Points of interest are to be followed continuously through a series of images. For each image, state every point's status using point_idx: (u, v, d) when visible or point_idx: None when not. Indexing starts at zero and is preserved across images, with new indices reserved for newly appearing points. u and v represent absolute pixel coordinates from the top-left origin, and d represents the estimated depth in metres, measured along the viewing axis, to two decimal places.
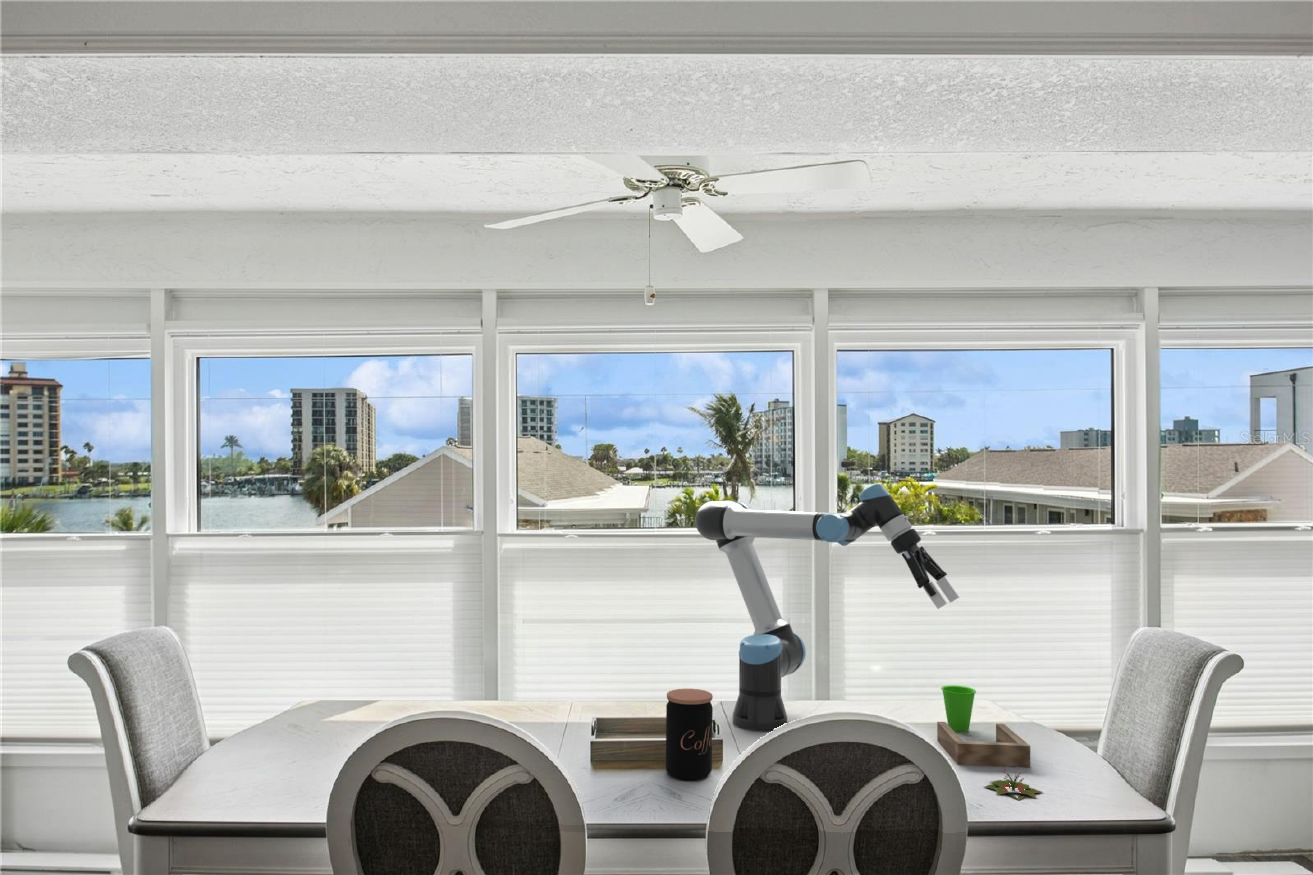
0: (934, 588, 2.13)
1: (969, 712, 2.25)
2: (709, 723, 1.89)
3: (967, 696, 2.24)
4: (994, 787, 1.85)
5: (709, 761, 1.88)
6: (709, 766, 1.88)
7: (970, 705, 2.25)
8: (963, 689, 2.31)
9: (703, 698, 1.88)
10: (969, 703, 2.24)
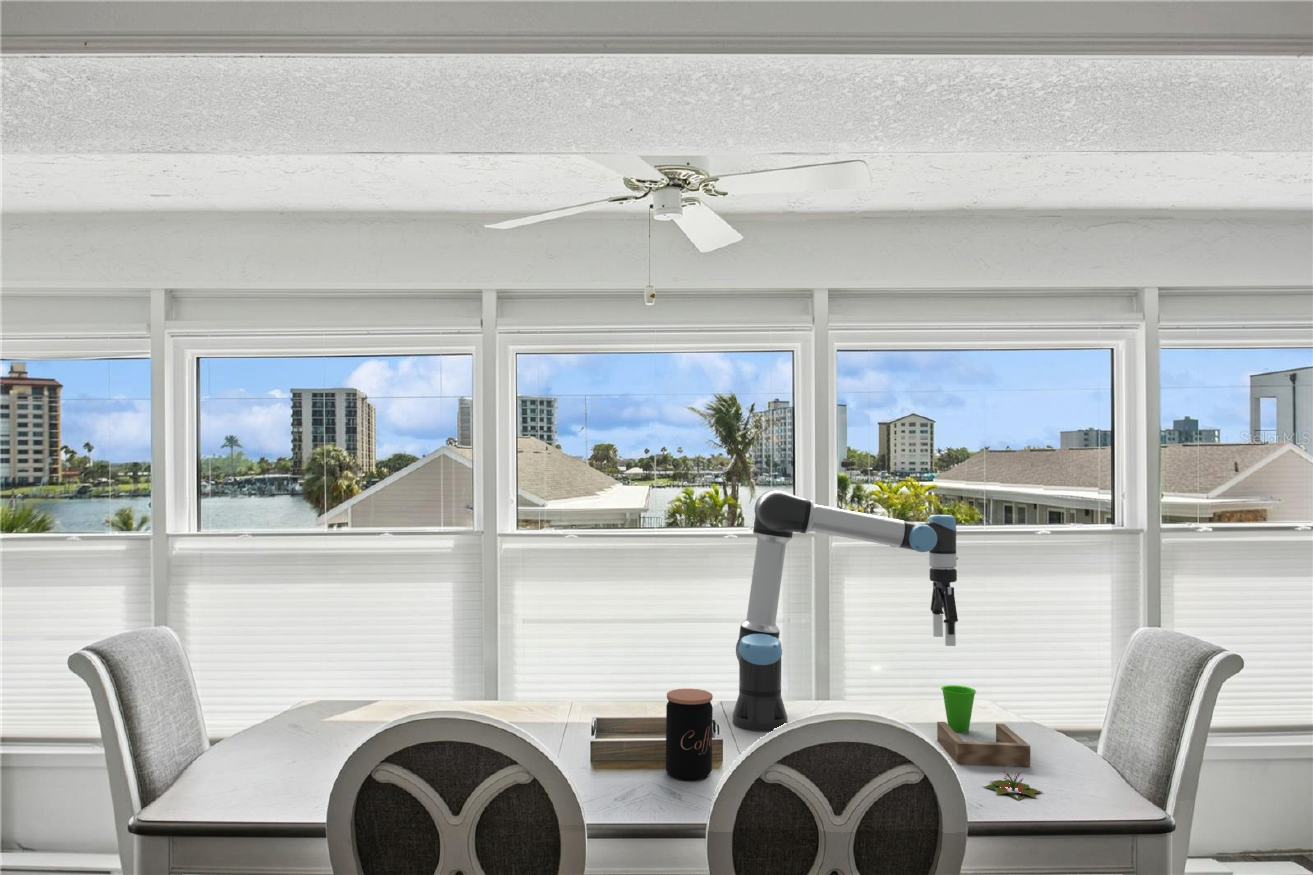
0: (954, 629, 2.36)
1: (969, 712, 2.25)
2: (709, 723, 1.89)
3: (967, 696, 2.24)
4: (994, 787, 1.85)
5: (709, 761, 1.88)
6: (709, 766, 1.88)
7: (970, 705, 2.25)
8: (963, 689, 2.31)
9: (703, 698, 1.88)
10: (969, 703, 2.24)
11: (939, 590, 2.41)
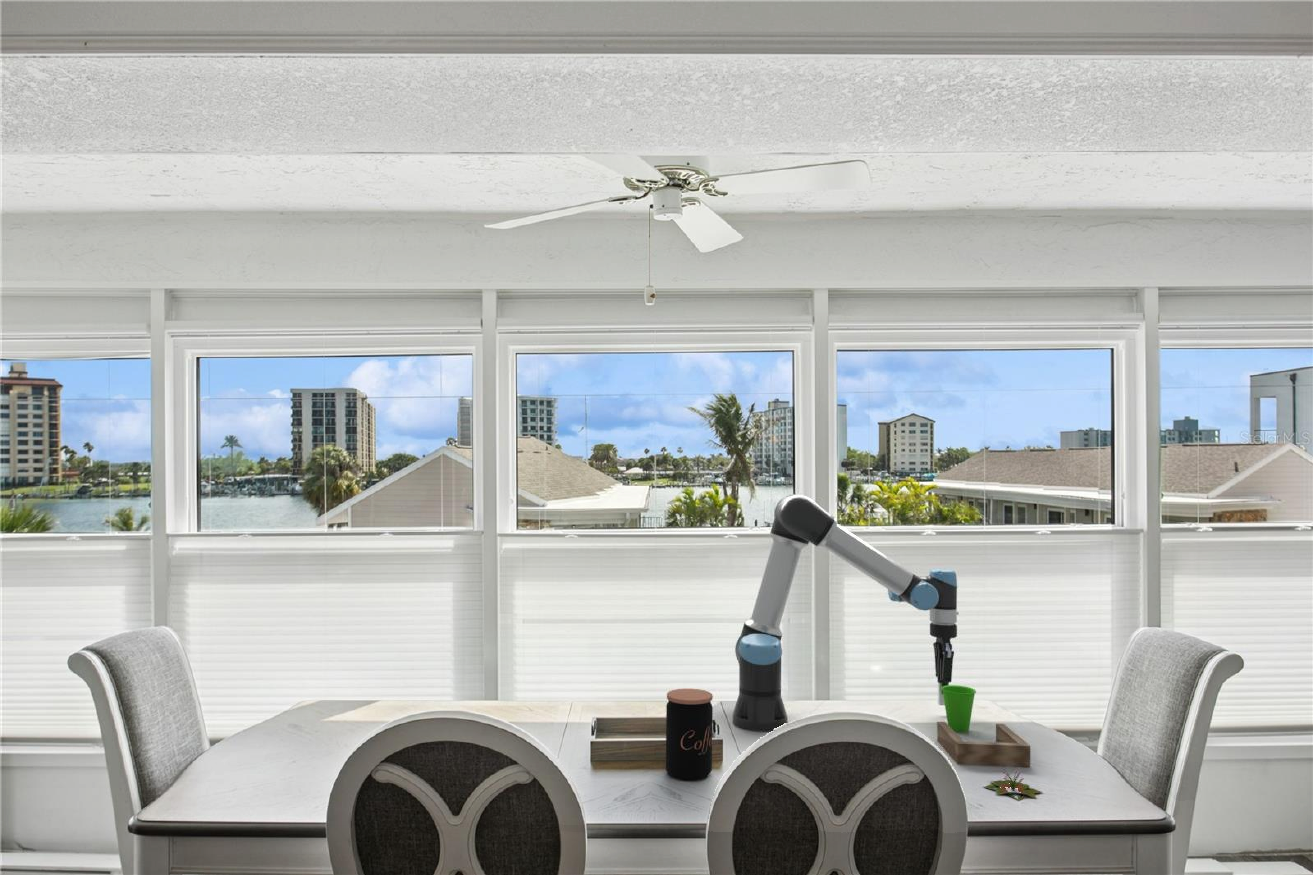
0: None
1: (969, 712, 2.25)
2: (709, 723, 1.89)
3: (967, 696, 2.24)
4: (994, 787, 1.85)
5: (709, 761, 1.88)
6: (709, 766, 1.88)
7: (970, 705, 2.25)
8: (963, 689, 2.31)
9: (703, 698, 1.88)
10: (969, 703, 2.24)
11: (939, 647, 2.41)
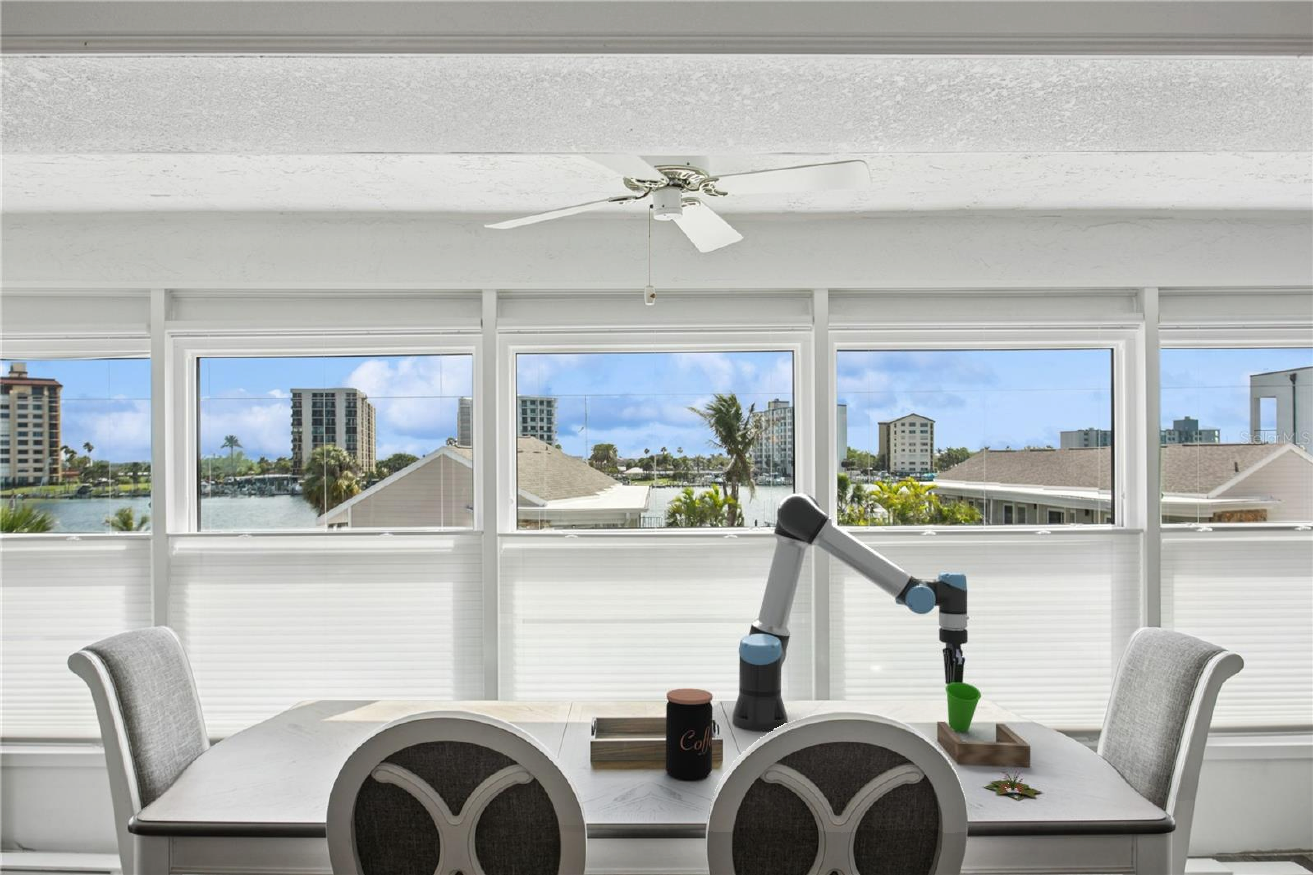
0: None
1: (971, 715, 2.23)
2: (709, 723, 1.89)
3: (971, 702, 2.21)
4: (994, 787, 1.85)
5: (709, 761, 1.88)
6: (709, 766, 1.88)
7: (973, 709, 2.22)
8: (967, 687, 2.27)
9: (703, 698, 1.88)
10: (972, 708, 2.22)
11: (949, 653, 2.32)
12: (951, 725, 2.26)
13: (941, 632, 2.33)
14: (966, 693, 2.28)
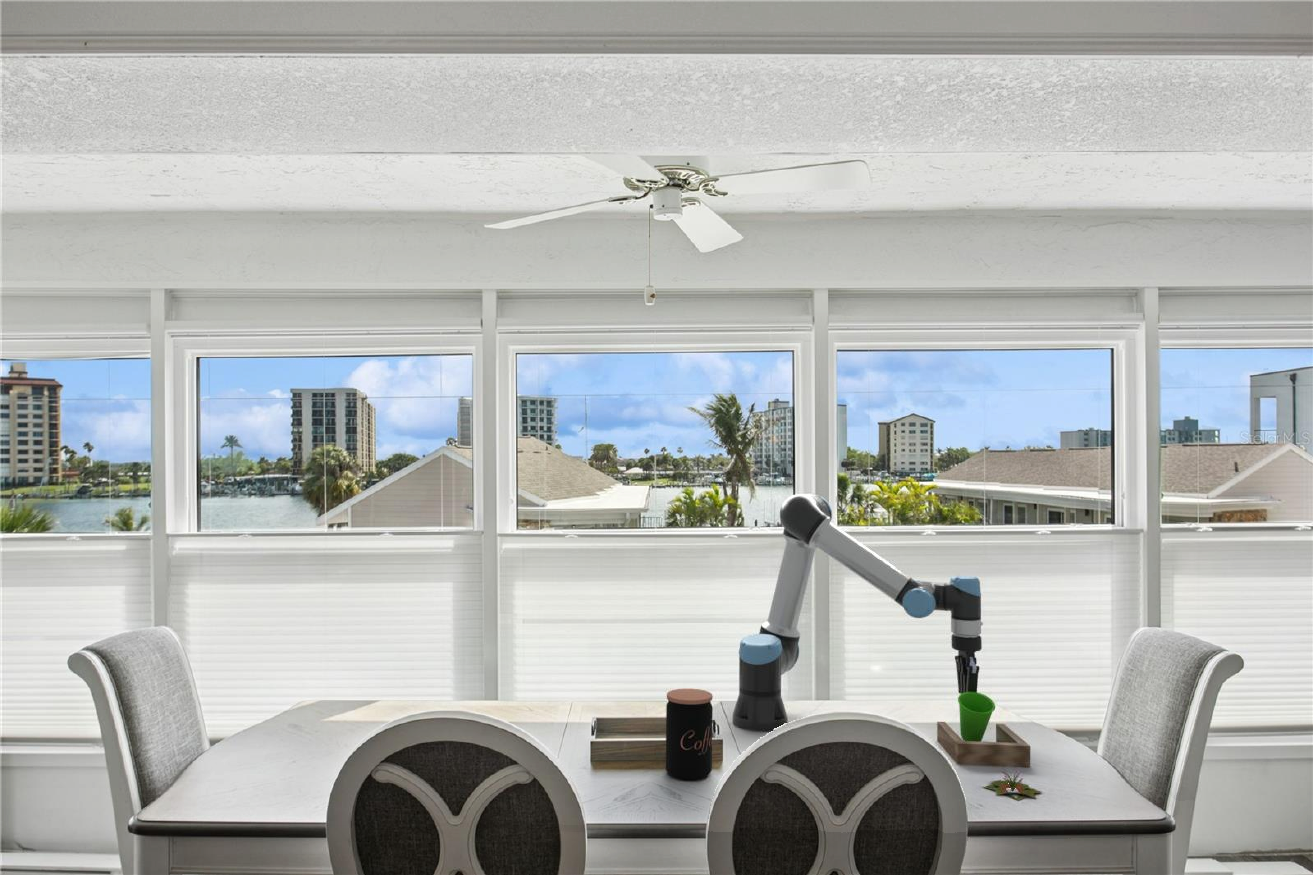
0: None
1: (985, 727, 2.12)
2: (709, 723, 1.89)
3: (985, 715, 2.10)
4: (993, 787, 1.85)
5: (709, 761, 1.88)
6: (709, 766, 1.88)
7: (987, 721, 2.11)
8: (981, 697, 2.16)
9: (703, 698, 1.88)
10: (985, 720, 2.11)
11: (962, 661, 2.20)
12: (963, 736, 2.15)
13: (954, 639, 2.21)
14: (980, 704, 2.17)
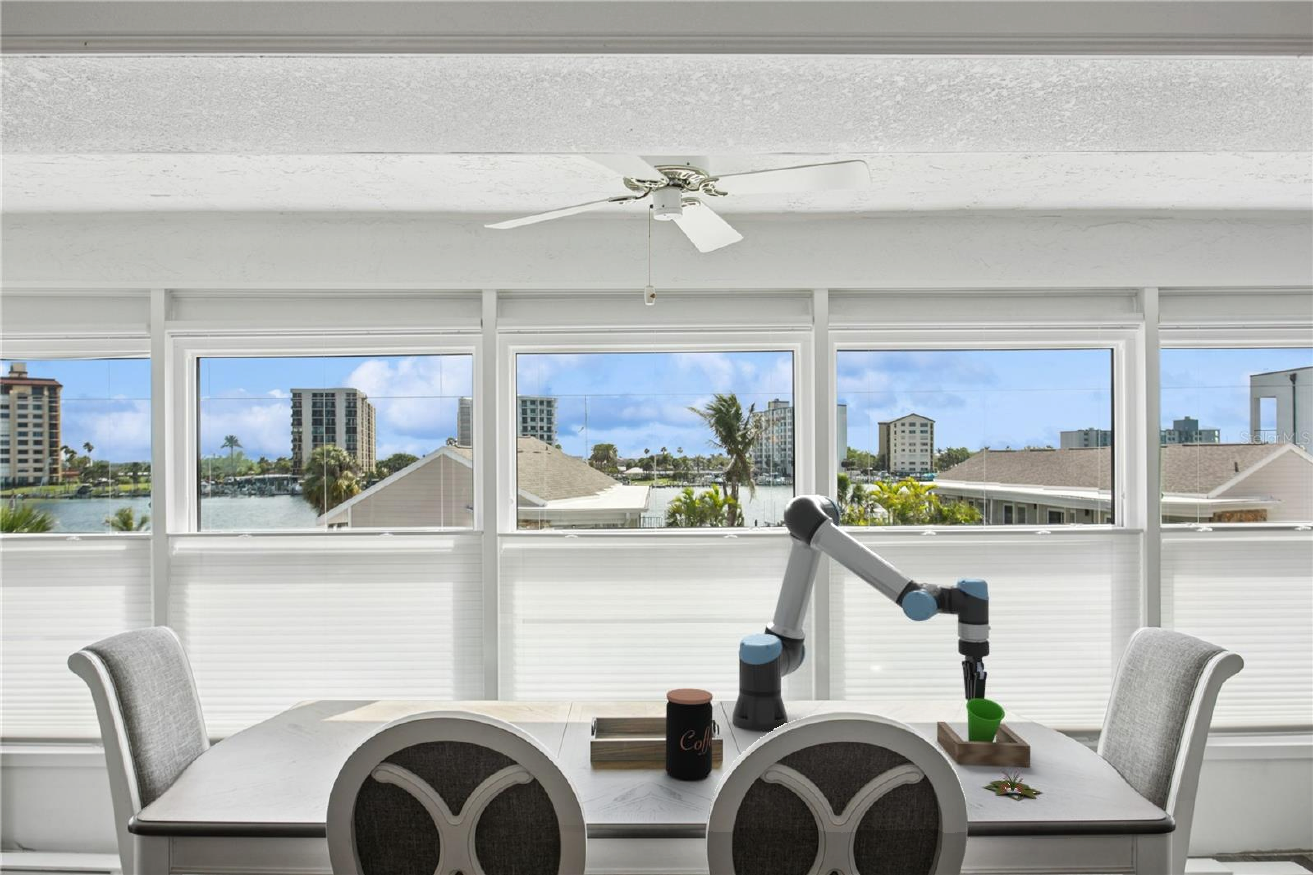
0: None
1: (994, 734, 2.06)
2: (709, 723, 1.89)
3: (994, 722, 2.03)
4: (993, 787, 1.85)
5: (709, 761, 1.88)
6: (709, 766, 1.88)
7: (996, 728, 2.05)
8: (990, 704, 2.10)
9: (703, 698, 1.88)
10: (995, 728, 2.05)
11: (970, 667, 2.14)
12: None
13: (961, 644, 2.15)
14: (988, 710, 2.10)
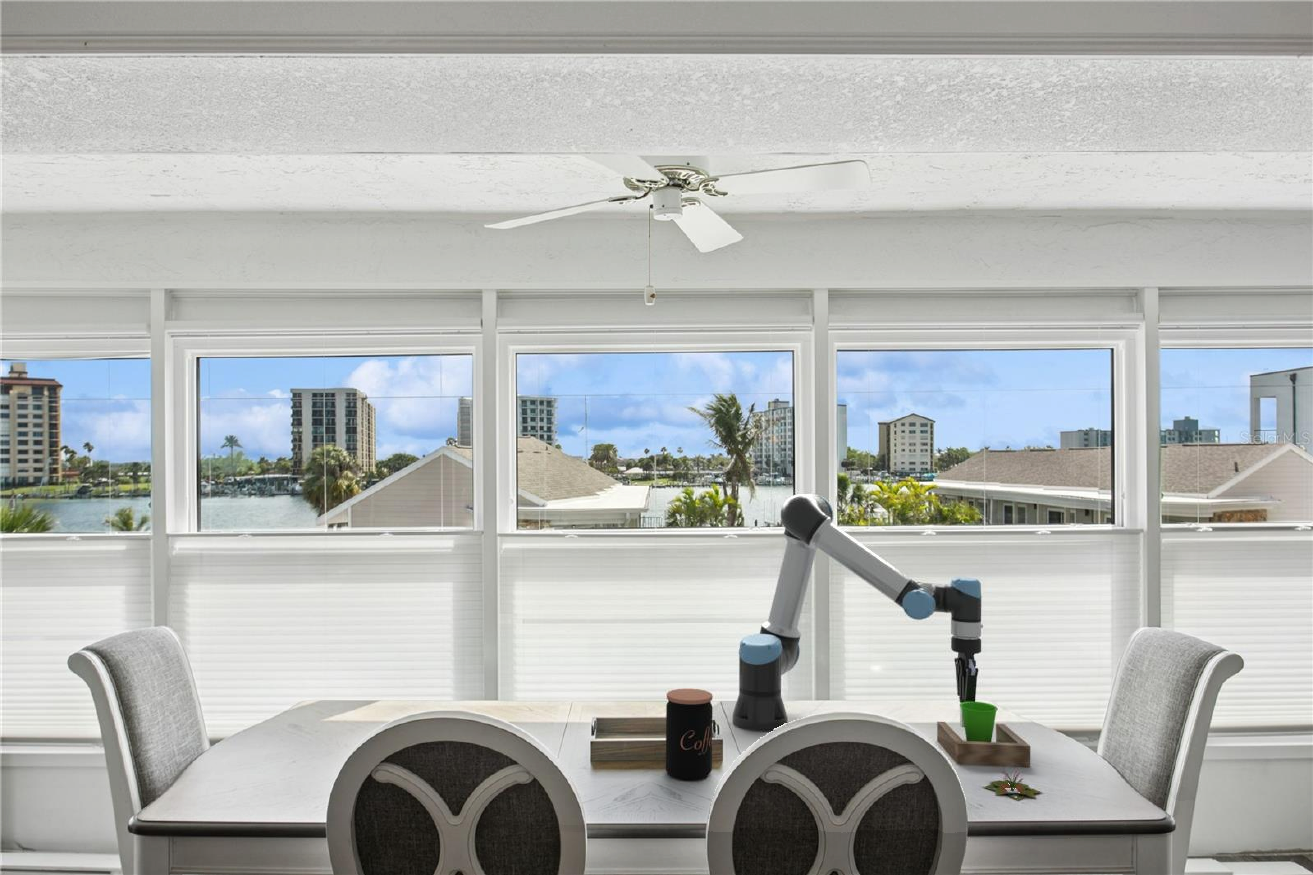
0: None
1: (990, 731, 2.08)
2: (709, 723, 1.89)
3: (988, 714, 2.07)
4: (993, 787, 1.85)
5: (709, 761, 1.88)
6: (709, 766, 1.88)
7: (991, 723, 2.08)
8: (983, 706, 2.14)
9: (703, 698, 1.88)
10: (990, 722, 2.07)
11: (962, 664, 2.19)
12: None
13: (953, 641, 2.21)
14: None
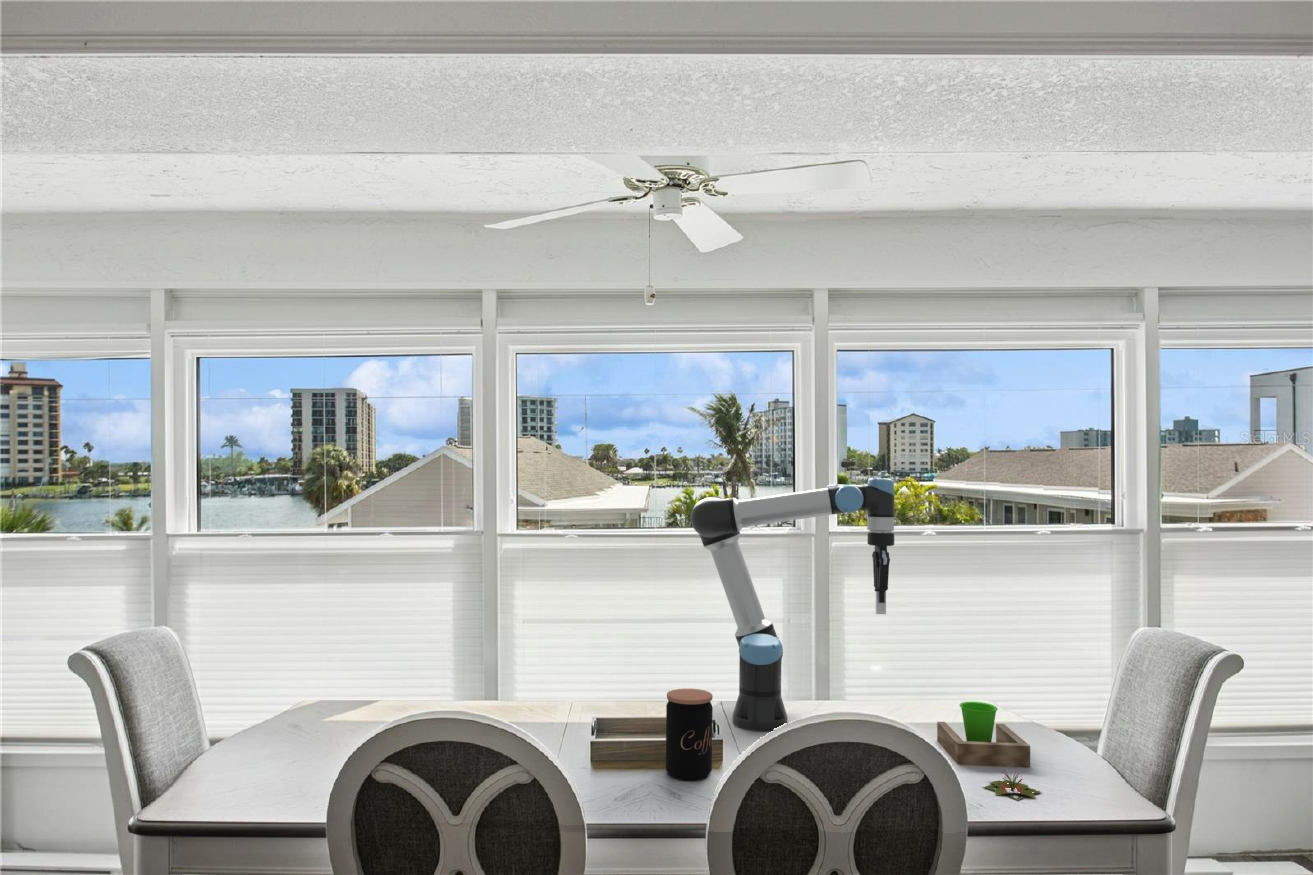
0: (884, 597, 2.39)
1: (990, 731, 2.08)
2: (709, 723, 1.89)
3: (988, 714, 2.07)
4: (993, 788, 1.85)
5: (709, 761, 1.88)
6: (709, 766, 1.88)
7: (991, 723, 2.08)
8: (982, 706, 2.14)
9: (703, 698, 1.88)
10: (990, 722, 2.07)
11: (876, 555, 2.39)
12: None
13: (869, 535, 2.40)
14: None
